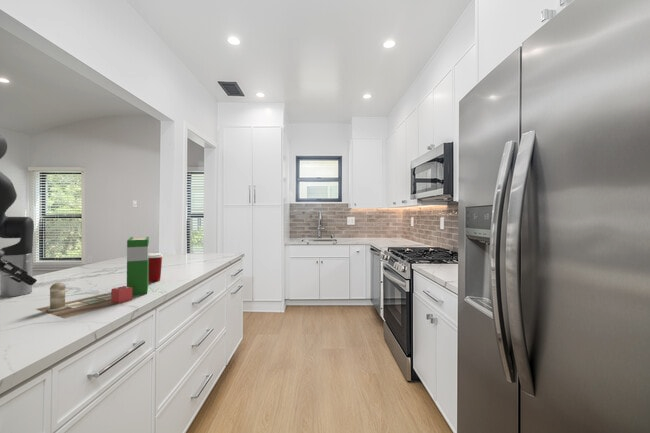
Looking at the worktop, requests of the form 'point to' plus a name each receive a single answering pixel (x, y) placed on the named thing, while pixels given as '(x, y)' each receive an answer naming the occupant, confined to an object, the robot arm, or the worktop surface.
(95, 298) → the game board
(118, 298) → the red die
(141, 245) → the hardback book
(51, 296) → the birch pawn
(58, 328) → the worktop surface
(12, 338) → the worktop surface
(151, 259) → the paper cup
